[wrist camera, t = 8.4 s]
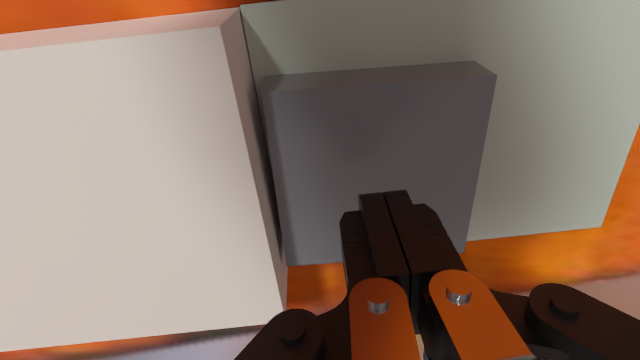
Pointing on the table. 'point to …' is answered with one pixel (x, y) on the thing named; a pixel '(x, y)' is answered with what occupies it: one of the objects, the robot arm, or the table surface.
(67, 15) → the table surface
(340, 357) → the robot arm
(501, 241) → the table surface
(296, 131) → the grey block
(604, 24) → the mat
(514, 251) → the table surface
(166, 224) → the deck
